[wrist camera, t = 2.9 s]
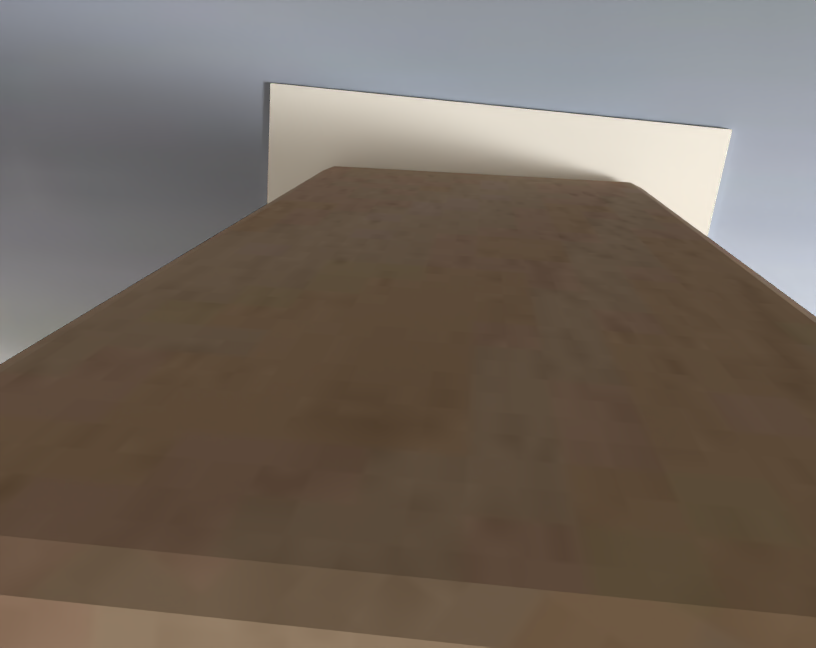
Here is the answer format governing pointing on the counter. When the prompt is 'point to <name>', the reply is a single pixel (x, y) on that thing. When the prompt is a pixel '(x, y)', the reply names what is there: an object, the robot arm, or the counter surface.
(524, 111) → the tile
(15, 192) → the counter surface
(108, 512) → the wooden block
